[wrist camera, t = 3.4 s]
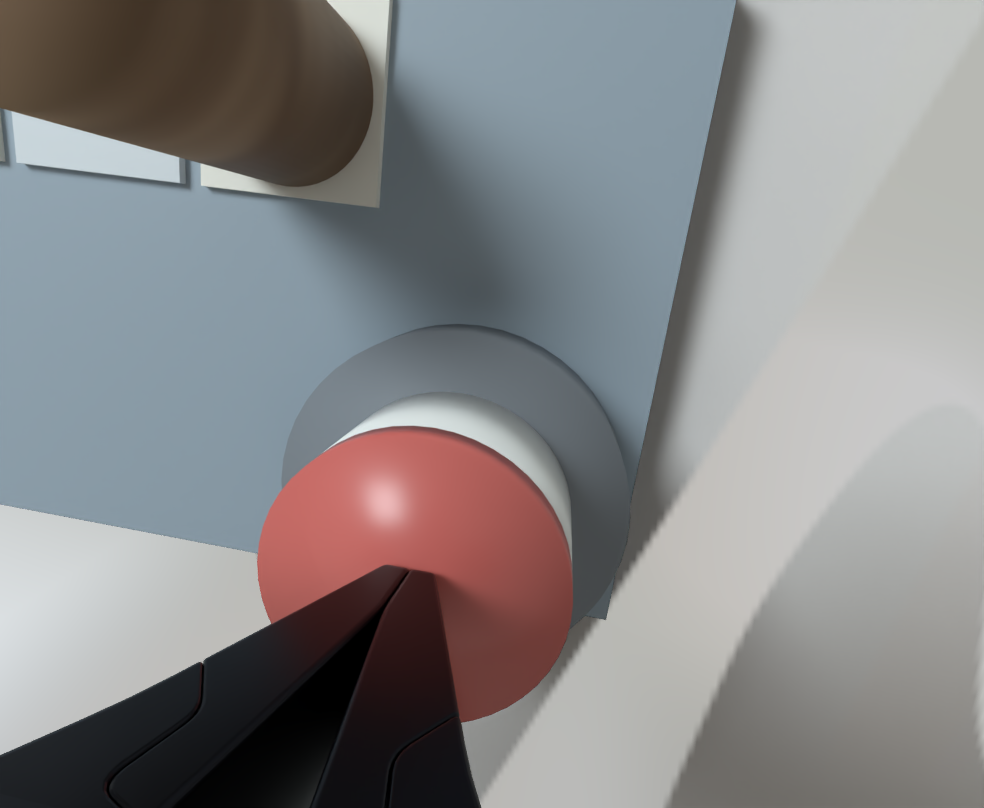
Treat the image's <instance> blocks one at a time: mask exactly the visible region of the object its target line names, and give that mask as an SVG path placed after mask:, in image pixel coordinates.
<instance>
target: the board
mask: <svg viewBox="0 0 984 808" xmlns="http://www.w3.org/2000/svg"><path fill="white" fill-rule="evenodd" d="M327 2H328V3H329V4H330V5H331V6H332V7H333V8H334V9H335V10H336V11H337V13H338V14H339V15H340V16H341V17H342V18H343V19H344V20H345V22H346V23H347V24H348V25H349V26H350V28H351V29H352V30H353V32H354V33H355V35H356V36H357V38H358V39H359V41H360V43H361V45H362V47H363V49H364V51H365V54H366V57H367V60H368V63H369V66H370V71H371V75H372V82H373V109H372V117H371V121H370V125H369V128H368V131H367V134H366V137H365V139H364V141H363V143H362V145H361V147H360V149H359V150H358V152H357V153H356V155H355V156H354V157H353V159H352V160H351V161H350V162H349V163H348V164H347V165H346V166H345V167H344V168H343V169H342V170H341V171H339V172H338V173H337V174H336V175H334V176H332V177H331V178H329V179H327V180H325V181H322V182H320V183H317V184H313V185H309V186H302V187H289V186H283V185H278V184H274V183H270V182H267V181H263V180H259V179H256V178H252V177H248V176H245V175H241V174H237V173H234V172H230V171H227V170H223V169H219V168H216V167H212V166H208V165H205V164H201V163H198V162H194V161H190V160H187V159H183V158H179V157H176V156H172V155H169V154H165V153H161V152H158V151H154V150H150V149H147V148H143V147H139V146H136V145H132V144H129V143H125V142H121V141H118V140H114V139H110V138H107V137H103V136H100V135H96V134H92V133H89V132H85V131H81V130H78V129H74V128H71V127H67V126H63V125H60V124H56V123H52V122H49V121H45V120H42V119H38V118H34V117H31V116H27V115H23V114H20V113H16V112H12V111H9V110H5V109H2V108H0V504H1V505H7V506H12V507H17V508H22V509H28V510H33V511H38V512H44V513H49V514H54V515H59V516H64V517H69V518H75V519H80V520H85V521H90V522H96V523H102V524H106V525H111V526H117V527H122V528H128V529H132V530H138V531H143V532H148V533H153V534H159V535H164V536H169V537H175V538H180V539H185V540H190V541H195V542H201V543H206V544H211V545H216V546H222V547H227V548H232V549H237V550H243V551H248V552H253V553H258V548H259V541H260V537H261V532H262V528H263V525H264V522H265V520H266V517H267V515H268V512H269V510H270V508H271V506H272V504H273V503H274V501H275V499H276V498H277V496H278V494H279V493H280V492H281V490H282V489H283V488H284V487H285V486H286V484H287V483H288V482H289V481H290V479H291V478H293V477H294V476H295V475H296V474H297V473H298V472H299V471H300V470H301V469H303V468H304V467H305V466H306V465H307V464H309V463H310V462H311V461H313V460H314V459H315V458H316V457H318V456H319V455H320V454H322V453H323V452H324V451H325V450H327V449H328V448H329V447H331V446H332V445H333V444H334V443H336V442H337V441H338V440H340V439H341V438H342V437H343V436H345V435H346V434H347V433H349V432H350V431H351V430H353V429H354V428H355V427H356V426H358V425H359V424H360V423H362V422H363V421H364V420H365V419H367V418H368V417H369V416H371V415H372V414H373V413H375V412H376V411H378V410H379V409H381V408H382V407H384V406H386V405H388V404H390V403H392V402H394V401H397V400H399V399H402V398H405V397H408V396H412V395H416V394H422V393H428V392H455V393H464V394H468V395H473V396H477V397H480V398H483V399H486V400H489V401H491V402H494V403H496V404H498V405H500V406H502V407H504V408H506V409H508V410H510V411H511V412H513V413H514V414H516V415H517V416H519V417H520V418H522V419H523V420H524V421H525V422H526V423H528V424H529V425H530V426H531V427H532V428H533V429H534V430H536V432H537V433H538V434H539V435H540V436H541V437H542V438H543V440H544V441H545V442H546V443H547V444H548V446H549V447H550V449H551V450H552V452H553V453H554V455H555V456H556V458H557V460H558V462H559V464H560V466H561V468H562V470H563V473H564V476H565V479H566V482H567V485H568V490H569V495H570V501H571V529H572V579H573V608H572V616H571V623H570V627H569V629H570V628H571V627H573V626H574V625H575V624H576V623H577V622H578V621H579V620H581V619H582V618H583V617H584V616H589V617H594V618H599V619H604V620H606V617H607V612H608V607H609V603H610V598H611V593H612V588H613V584H614V579H615V574H616V571H617V569H618V567H619V565H620V563H621V560H622V556H623V553H624V550H625V546H626V543H627V538H628V531H629V523H630V503H631V498H632V493H633V489H634V484H635V479H636V474H637V470H638V465H639V460H640V455H641V451H642V446H643V441H644V436H645V432H646V427H647V422H648V417H649V413H650V408H651V403H652V398H653V394H654V389H655V384H656V379H657V375H658V370H659V365H660V360H661V356H662V351H663V346H664V341H665V337H666V332H667V327H668V322H669V318H670V313H671V308H672V303H673V299H674V294H675V289H676V284H677V280H678V275H679V270H680V265H681V261H682V256H683V251H684V247H685V242H686V237H687V232H688V228H689V223H690V218H691V213H692V209H693V204H694V199H695V194H696V190H697V185H698V180H699V175H700V171H701V166H702V161H703V156H704V152H705V147H706V142H707V137H708V133H709V128H710V123H711V118H712V114H713V109H714V104H715V99H716V95H717V90H718V85H719V80H720V76H721V71H722V66H723V61H724V57H725V52H726V47H727V42H728V38H729V33H730V28H731V23H732V19H733V14H734V9H735V4H736V0H327Z"/></svg>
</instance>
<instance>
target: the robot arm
mask: <svg viewBox="0 0 984 808" xmlns="http://www.w3.org/2000/svg"><path fill="white" fill-rule="evenodd" d="M459 717H460V715H459V709H458V703H457V698H456V692H455V686H454V680H453V674H452V669H451V663H450V657H449V651H448V645H447V639H446V634H445V628H444V622H443V616H442V610H441V604H440V599H439V593H438V587H437V581H436V576H435V574H433V573H430V572H425V571H420V570H411V571H410V572H409V570H408V569H407V568H404V567H398V566H393V565H388V564H386V565H383V566H380V567H379V568H377V569H375V570H373V571H371V572H369V573H367V574H365V575H363V576H362V577H360V578H358V579H356V580H354V581H352V582H350V583H348V584H346V585H344V586H343V587H341V588H339V589H337V590H335V591H333V592H331V593H329V594H327V595H325V596H324V597H322V598H320V599H318V600H316V601H314V602H312V603H310V604H308V605H306V606H305V607H303V608H301V609H299V610H297V611H295V612H293V613H291V614H289V615H288V616H286V617H284V618H282V619H280V620H278V621H276V622H274V623H272V624H270V625H269V626H267V627H265V628H263V629H261V630H259V631H257V632H255V633H253V634H252V635H250V636H248V637H246V638H244V639H242V640H240V641H238V642H236V643H235V644H233V645H231V646H229V647H227V648H225V649H223V650H221V651H219V652H217V653H216V654H214V655H212V656H210V657H208V658H206V659H205V660H204V662H203V663H201V662H198V663H196V664H194V665H192V666H191V667H188V668H187V669H185V670H183V671H181V672H179V673H177V674H175V675H173V676H171V677H169V678H168V679H166V680H163V681H162V682H159V683H157V684H156V685H153V686H151V687H149V688H148V689H145V690H143V691H141V692H139V693H137V694H135V695H133V696H132V697H129V698H127V699H125V700H123V701H121V702H118V703H116V704H114V705H112V706H110V707H108V708H105V709H103V710H101V711H99V712H97V713H95V714H93V715H90V716H88V717H86V718H84V719H81V720H79V721H77V722H75V723H73V724H70V725H68V726H66V727H63V728H61V729H59V730H57V731H54V732H52V733H50V734H47V735H45V736H43V737H41V738H38V739H36V740H34V741H32V742H30V743H27V744H25V745H22V746H20V747H18V748H16V749H14V750H11V751H9V752H7V753H4V754H2V755H0V808H481V805H480V802H479V798H478V795H477V792H476V788H475V785H474V781H473V778H472V774H471V770H470V765H469V761H468V756H467V751H466V747H465V742H464V736H463V731H462V725H461V720H460V718H459Z"/></svg>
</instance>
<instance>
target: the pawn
mask: <svg viewBox="0 0 984 808" xmlns="http://www.w3.org/2000/svg"><path fill="white" fill-rule="evenodd" d="M0 108H2V109H5V110H9V111H12V112H16V113H20V114H23V115H27V116H31V117H34V118H38V119H42V120H45V121H49V122H52V123H56V124H60V125H63V126H67V127H71V128H74V129H78V130H81V131H85V132H89V133H92V134H96V135H100V136H103V137H107V138H110V139H114V140H118V141H121V142H125V143H129V144H132V145H136V146H139V147H143V148H147V149H150V150H154V151H158V152H161V153H165V154H169V155H172V156H176V157H179V158H183V159H187V160H190V161H194V162H198V163H201V164H205V165H208V166H212V167H216V168H219V169H223V170H227V171H230V172H234V173H237V174H241V175H245V176H248V177H252V178H256V179H259V180H263V181H267V182H270V183H274V184H278V185H283V186H289V187H302V186H309V185H313V184H317V183H320V182H322V181H325V180H327V179H329V178H331V177H332V176H334V175H336V174H337V173H338V172H339V171H341V170H342V169H343V168H344V167H345V166H346V165H347V164H348V163H349V162H350V161H351V160H352V159H353V157H354V156H355V155H356V153H357V152H358V150H359V149H360V147H361V145H362V143H363V141H364V139H365V137H366V134H367V131H368V128H369V125H370V121H371V117H372V109H373V82H372V75H371V71H370V66H369V63H368V60H367V57H366V54H365V51H364V49H363V47H362V45H361V43H360V41H359V39H358V38H357V36H356V35H355V33H354V32H353V30H352V29H351V28H350V26H349V25H348V24H347V23H346V22H345V20H344V19H343V18H342V17H341V16H340V15H339V14H338V13H337V11H336V10H335V9H334V8H333V7H332V6H331V5H330V4H329V3H328V2H327V0H0Z"/></svg>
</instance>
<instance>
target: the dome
mask: <svg viewBox="0 0 984 808" xmlns="http://www.w3.org/2000/svg"><path fill="white" fill-rule="evenodd" d="M386 564H388V565H393V566H398V567H404V568H407V569H408V570H409V572H410V571H411V570H420V571H425V572H430V573H433V574H435V576H436V581H437V587H438V593H439V599H440V604H441V610H442V616H443V622H444V628H445V634H446V639H447V645H448V651H449V657H450V663H451V669H452V674H453V680H454V686H455V692H456V698H457V703H458V709H459V715H460V717H459V718H460V720H461V722H467V721H472V720H476V719H479V718H482V717H485V716H489V715H492V714H494V713H496V712H498V711H500V710H502V709H505V708H507V707H509V706H510V705H512V704H513V703H515V702H516V701H518V700H520V699H521V698H523V697H524V696H525V695H526V694H528V693H529V692H530V691H531V690H532V689H533V688H535V687H536V686H537V685H538V684H539V683H540V681H541V680H542V679H543V678H544V677H545V676H546V675H547V673H548V672H549V671H550V669H551V668H552V666H553V665H554V663H555V662H556V660H557V658H558V657H559V655H560V652H561V650H562V648H563V646H564V643H565V641H566V638H567V635H568V631H569V627H570V623H571V616H572V608H573V579H572V529H571V501H570V495H569V490H568V485H567V482H566V479H565V476H564V473H563V470H562V468H561V466H560V464H559V462H558V460H557V458H556V456H555V455H554V453H553V452H552V450H551V449H550V447H549V446H548V444H547V443H546V442H545V441H544V440H543V438H542V437H541V436H540V435H539V434H538V433H537V432H536V430H534V429H533V428H532V427H531V426H530V425H529V424H528V423H526V422H525V421H524V420H523V419H522V418H520V417H519V416H517V415H516V414H514V413H513V412H511V411H510V410H508V409H506V408H504V407H502V406H500V405H498V404H496V403H494V402H491V401H489V400H486V399H483V398H480V397H477V396H473V395H468V394H464V393H455V392H428V393H422V394H416V395H412V396H408V397H405V398H402V399H399V400H397V401H394V402H392V403H390V404H388V405H386V406H384V407H382V408H381V409H379V410H378V411H376V412H375V413H373V414H372V415H371V416H369V417H368V418H367V419H365V420H364V421H363V422H362V423H360V424H359V425H358V426H356V427H355V428H354V429H353V430H351V431H350V432H349V433H347V434H346V435H345V436H343V437H342V438H341V439H340V440H338V441H337V442H336V443H334V444H333V445H332V446H331V447H329V448H328V449H327V450H325V451H324V452H323V453H322V454H320V455H319V456H318V457H316V458H315V459H314V460H313V461H311V462H310V463H309V464H307V465H306V466H305V467H304V468H303V469H301V470H300V471H299V472H298V473H297V474H296V475H295V476H294V477H293V478H291V479H290V481H289V482H288V483H287V484H286V486H285V487H284V488H283V489H282V490H281V492H280V493H279V494H278V496H277V498H276V499H275V501H274V503H273V504H272V506H271V508H270V510H269V512H268V515H267V517H266V520H265V522H264V525H263V528H262V532H261V537H260V541H259V548H258V560H257V565H258V581H259V586H260V591H261V596H262V600H263V603H264V606H265V609H266V612H267V615H268V617H269V619H270V621H271V624H272V623H274V622H276V621H278V620H280V619H282V618H284V617H286V616H288V615H289V614H291V613H293V612H295V611H297V610H299V609H301V608H303V607H305V606H306V605H308V604H310V603H312V602H314V601H316V600H318V599H320V598H322V597H324V596H325V595H327V594H329V593H331V592H333V591H335V590H337V589H339V588H341V587H343V586H344V585H346V584H348V583H350V582H352V581H354V580H356V579H358V578H360V577H362V576H363V575H365V574H367V573H369V572H371V571H373V570H375V569H377V568H379V567H380V566H383V565H386Z"/></svg>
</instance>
